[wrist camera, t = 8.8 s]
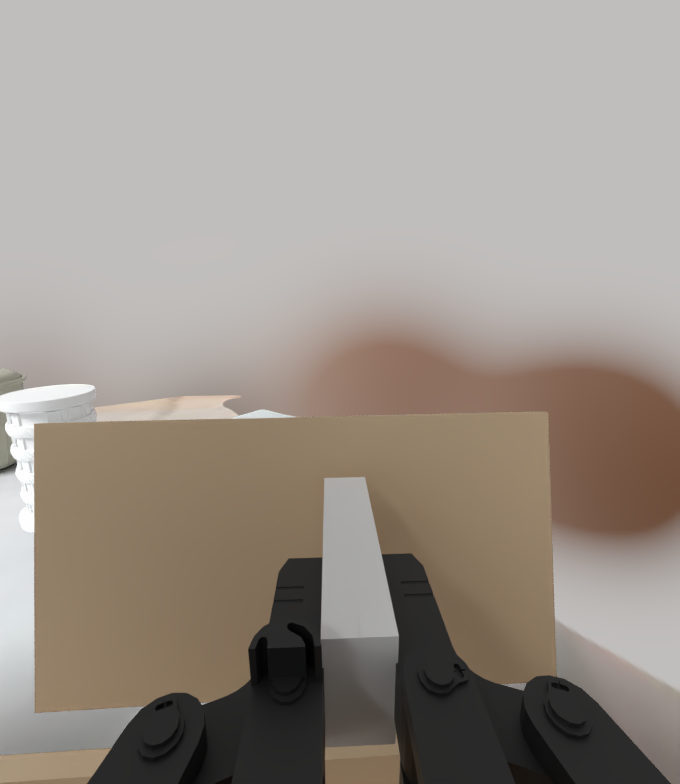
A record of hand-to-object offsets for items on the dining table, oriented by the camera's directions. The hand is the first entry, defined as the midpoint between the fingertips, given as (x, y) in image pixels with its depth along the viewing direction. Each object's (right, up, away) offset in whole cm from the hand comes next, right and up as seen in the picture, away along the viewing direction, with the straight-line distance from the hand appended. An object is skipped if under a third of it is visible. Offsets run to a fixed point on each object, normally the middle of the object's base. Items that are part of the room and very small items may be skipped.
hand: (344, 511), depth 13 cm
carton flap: (-2, -8, +1) cm, 8 cm away
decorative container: (-40, -13, +41) cm, 59 cm away
